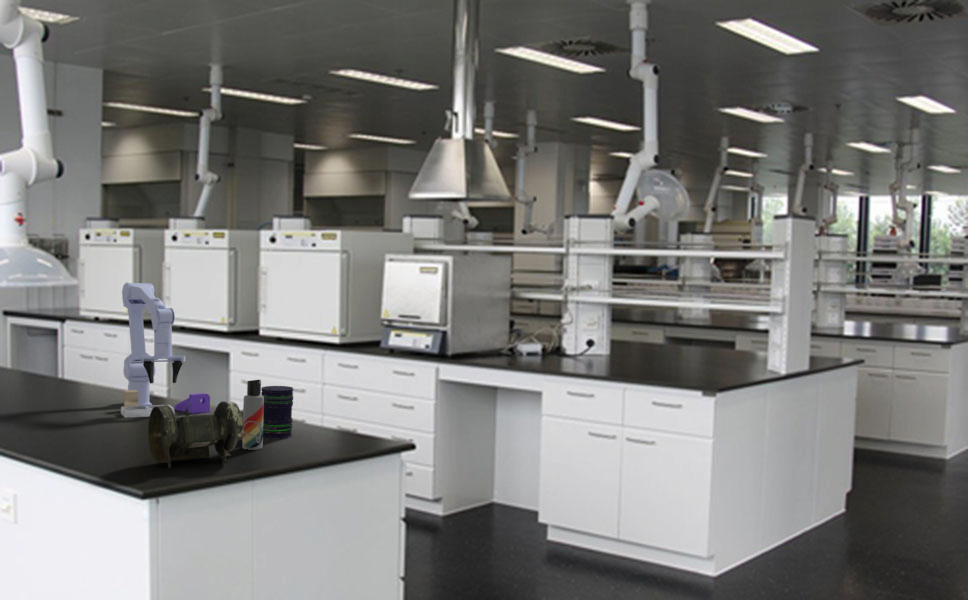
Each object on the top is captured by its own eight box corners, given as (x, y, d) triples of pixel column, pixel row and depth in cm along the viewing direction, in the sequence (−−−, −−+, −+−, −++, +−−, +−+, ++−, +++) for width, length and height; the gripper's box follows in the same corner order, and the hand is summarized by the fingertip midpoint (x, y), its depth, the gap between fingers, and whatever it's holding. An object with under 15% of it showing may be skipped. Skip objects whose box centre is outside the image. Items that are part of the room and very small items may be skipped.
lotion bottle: (252, 450, 269) (254, 381, 268) (237, 448, 272) (239, 379, 271) (266, 448, 274) (268, 379, 273) (252, 445, 277) (254, 377, 276)
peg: (123, 410, 328) (123, 390, 328) (135, 409, 330) (136, 390, 330) (125, 412, 325) (125, 392, 325) (137, 411, 327) (138, 391, 327)
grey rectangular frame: (120, 413, 321) (121, 406, 321) (169, 411, 329) (169, 404, 329) (124, 417, 314) (125, 410, 314) (174, 415, 322) (174, 408, 322)
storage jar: (281, 431, 299) (282, 385, 299) (298, 436, 292) (299, 388, 292) (253, 435, 292) (254, 387, 292) (270, 440, 285) (271, 391, 285)
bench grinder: (250, 455, 247) (242, 382, 254) (164, 458, 234) (159, 382, 241) (223, 475, 262) (216, 406, 269) (141, 479, 249) (136, 406, 256)
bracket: (209, 412, 332) (210, 393, 332) (191, 414, 327) (192, 394, 327) (192, 408, 340) (192, 389, 340) (174, 410, 335) (175, 390, 335)
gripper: (137, 344, 320) (138, 384, 319) (181, 343, 321) (181, 383, 320) (143, 343, 327) (144, 382, 326) (186, 342, 328) (186, 382, 327)
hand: (163, 383), depth 324 cm, fingers open, 7 cm apart
